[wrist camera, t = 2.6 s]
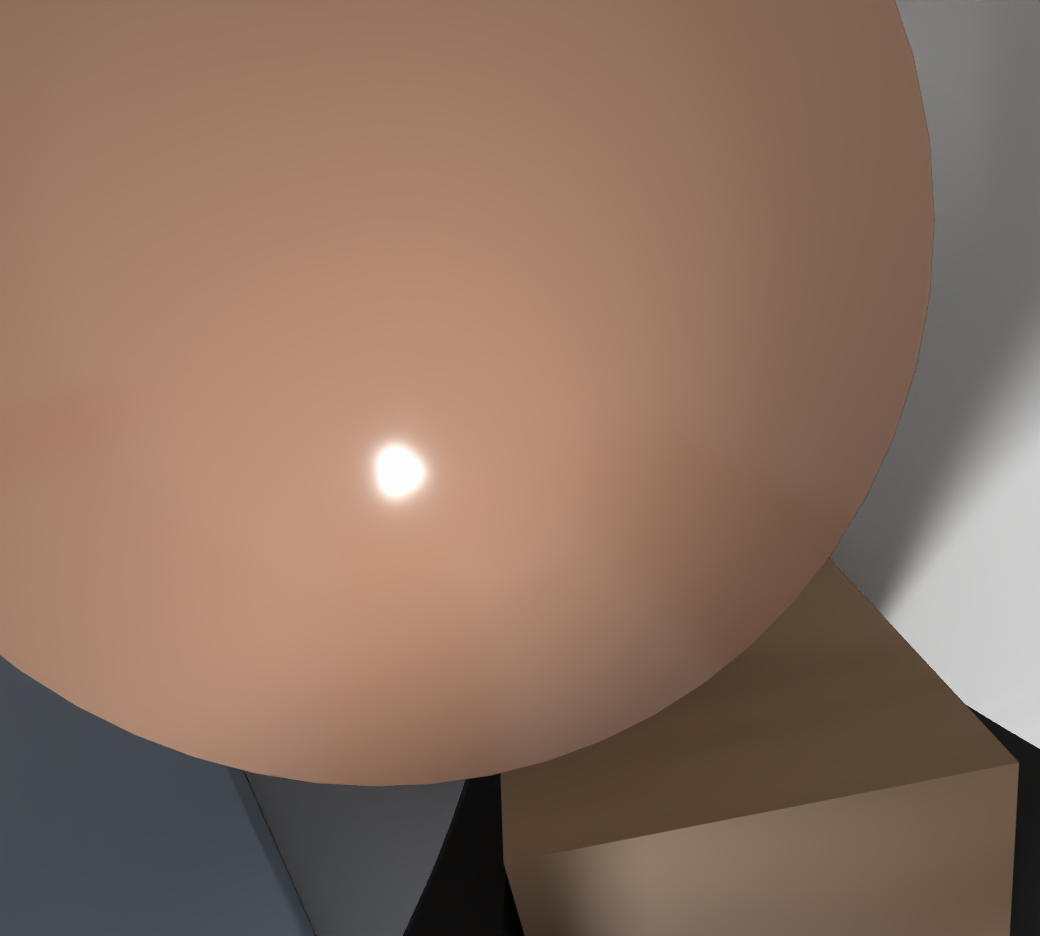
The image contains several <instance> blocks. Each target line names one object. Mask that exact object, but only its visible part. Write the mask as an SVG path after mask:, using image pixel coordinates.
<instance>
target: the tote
mask: <svg viewBox="0 0 1040 936" xmlns="http://www.w3.org/2000/svg"><path fill="white" fill-rule="evenodd" d="M0 936H315V933H314V931H313V929H312V926H311V924H310V922H309V920H308V917H307V915H306V913H305V910H304V908H303V906H302V904H301V901H300V899H299V897H298V895H297V892H296V890H295V888H294V885H293V883H292V881H291V879H290V876H289V874H288V872H287V869H286V867H285V865H284V863H283V860H282V858H281V856H280V853H279V851H278V849H277V847H276V844H275V842H274V840H273V838H272V835H271V833H270V831H269V828H268V826H267V824H266V822H265V819H264V817H263V815H262V812H261V810H260V808H259V806H258V803H257V801H256V799H255V796H254V794H253V792H252V790H251V787H250V785H249V783H248V781H247V778H246V776H245V774H244V771H243V770H241V769H237V768H233V767H229V766H226V765H222V764H218V763H214V762H211V761H207V760H203V759H199V758H196V757H193V756H190V755H187V754H185V753H182V752H179V751H177V750H174V749H171V748H169V747H166V746H163V745H161V744H158V743H155V742H153V741H150V740H147V739H145V738H142V737H139V736H137V735H134V734H132V733H130V732H128V731H126V730H124V729H122V728H120V727H118V726H116V725H114V724H112V723H110V722H108V721H106V720H104V719H102V718H100V717H98V716H96V715H94V714H92V713H90V712H88V711H86V710H84V709H82V708H80V707H78V706H76V705H74V704H73V703H71V702H70V701H68V700H66V699H65V698H63V697H62V696H60V695H58V694H57V693H55V692H54V691H52V690H50V689H49V688H47V687H46V686H44V685H42V684H41V683H39V682H38V681H36V680H34V679H33V678H31V677H30V676H28V675H26V674H25V673H23V672H22V671H20V670H19V669H18V668H16V667H15V666H14V665H12V664H11V663H10V662H9V661H7V660H6V659H5V658H3V657H2V656H1V655H0Z"/></svg>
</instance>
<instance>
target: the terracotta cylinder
mask: <svg viewBox="0 0 1040 936" xmlns="http://www.w3.org/2000/svg"><path fill="white" fill-rule="evenodd" d="M934 221H935V217H934V201H933V186H932V170H931V154H930V139H929V134H928V128H927V123H926V118H925V113H924V108H923V103H922V97H921V92H920V87H919V82H918V77H917V72H916V66H915V61H914V56H913V53H912V50H911V47H910V44H909V41H908V38H907V35H906V32H905V29H904V26H903V23H902V20H901V17H900V14H899V11H898V8H897V5H896V2H895V0H0V655H1V656H2V657H3V658H5V659H6V660H7V661H9V662H10V663H11V664H12V665H14V666H15V667H16V668H18V669H19V670H20V671H22V672H23V673H25V674H26V675H28V676H30V677H31V678H33V679H34V680H36V681H38V682H39V683H41V684H42V685H44V686H46V687H47V688H49V689H50V690H52V691H54V692H55V693H57V694H58V695H60V696H62V697H63V698H65V699H66V700H68V701H70V702H71V703H73V704H74V705H76V706H78V707H80V708H82V709H84V710H86V711H88V712H90V713H92V714H94V715H96V716H98V717H100V718H102V719H104V720H106V721H108V722H110V723H112V724H114V725H116V726H118V727H120V728H122V729H124V730H126V731H128V732H130V733H132V734H134V735H137V736H139V737H142V738H145V739H147V740H150V741H153V742H155V743H158V744H161V745H163V746H166V747H169V748H171V749H174V750H177V751H179V752H182V753H185V754H187V755H190V756H193V757H196V758H199V759H203V760H207V761H211V762H214V763H218V764H222V765H226V766H229V767H233V768H237V769H241V770H245V771H248V772H252V773H257V774H263V775H269V776H275V777H282V778H288V779H294V780H300V781H306V782H313V783H326V784H343V785H360V786H394V785H418V784H435V783H442V782H449V781H456V780H463V779H470V778H477V777H483V776H490V775H494V774H498V773H502V772H506V771H510V770H514V769H518V768H522V767H526V766H530V765H534V764H538V763H542V762H546V761H549V760H552V759H554V758H557V757H560V756H562V755H565V754H568V753H571V752H573V751H576V750H579V749H581V748H584V747H587V746H590V745H592V744H595V743H598V742H600V741H603V740H605V739H607V738H609V737H611V736H613V735H615V734H617V733H619V732H621V731H623V730H625V729H627V728H629V727H631V726H633V725H635V724H637V723H639V722H641V721H643V720H645V719H647V718H649V717H651V716H653V715H655V714H657V713H658V712H660V711H661V710H663V709H664V708H666V707H667V706H669V705H671V704H672V703H674V702H675V701H677V700H678V699H680V698H682V697H683V696H685V695H686V694H688V693H689V692H691V691H692V690H694V689H696V688H697V687H699V686H700V685H702V684H703V683H705V682H706V681H707V680H709V679H710V678H711V677H712V676H713V675H715V674H716V673H717V672H718V671H720V670H721V669H722V668H723V667H725V666H726V665H727V664H728V663H730V662H731V661H732V660H733V659H734V658H736V657H737V656H738V655H739V654H741V653H742V652H743V651H744V650H746V649H747V648H748V647H749V646H751V645H752V644H753V643H754V642H755V641H756V640H757V639H758V638H759V636H760V635H761V634H762V633H763V632H764V631H765V630H766V629H767V628H768V627H769V626H770V625H771V624H772V623H773V622H774V621H775V620H776V619H777V618H778V617H779V616H780V615H781V614H782V613H783V612H784V611H785V610H786V609H787V608H788V607H789V606H790V605H791V604H792V603H793V602H794V601H795V600H796V598H797V597H798V596H799V594H800V593H801V592H802V591H803V589H804V588H805V587H806V586H807V584H808V583H809V582H810V580H811V579H812V578H813V577H814V575H815V574H816V573H817V571H818V570H819V569H820V568H821V566H822V565H823V564H824V563H825V561H826V560H827V559H828V557H829V556H830V555H831V554H832V552H833V551H834V549H835V547H836V546H837V544H838V543H839V541H840V539H841V538H842V536H843V534H844V533H845V531H846V529H847V528H848V526H849V525H850V523H851V521H852V520H853V518H854V516H855V515H856V513H857V511H858V510H859V508H860V506H861V505H862V503H863V502H864V500H865V498H866V497H867V495H868V492H869V490H870V488H871V486H872V484H873V481H874V479H875V477H876V475H877V473H878V471H879V468H880V466H881V464H882V462H883V460H884V457H885V455H886V453H887V451H888V449H889V446H890V444H891V442H892V440H893V438H894V436H895V433H896V430H897V426H898V423H899V420H900V417H901V414H902V411H903V408H904V405H905V401H906V398H907V395H908V392H909V389H910V386H911V383H912V379H913V376H914V373H915V370H916V366H917V361H918V356H919V350H920V345H921V340H922V334H923V329H924V324H925V319H926V313H927V308H928V303H929V297H930V285H931V269H932V253H933V237H934Z"/></svg>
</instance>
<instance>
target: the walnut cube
mask: <svg viewBox="0 0 1040 936" xmlns="http://www.w3.org/2000/svg"><path fill="white" fill-rule="evenodd" d="M1018 774H1019V762H1018V761H1017V760H1016V759H1015V758H1014V756H1013V755H1012V754H1011V753H1010V752H1009V751H1008V750H1007V749H1006V748H1005V747H1004V746H1003V745H1002V744H1001V742H1000V741H999V740H998V739H997V738H996V737H995V736H994V735H993V734H992V733H991V732H990V731H989V730H988V728H987V727H986V726H985V725H984V724H983V723H982V722H981V721H980V720H979V719H978V718H977V717H976V716H975V714H974V713H973V712H972V711H971V710H970V709H969V708H968V707H967V706H966V705H965V704H964V703H963V702H962V700H961V699H960V698H959V697H958V696H957V695H956V694H955V693H954V692H953V691H952V690H951V689H950V688H949V686H948V685H947V684H946V683H945V682H944V681H943V680H942V679H941V678H940V677H939V676H938V675H937V674H936V672H935V671H934V670H933V669H932V668H931V667H930V666H929V665H928V664H927V663H926V662H925V661H924V660H923V658H922V657H921V656H920V655H919V654H918V653H917V652H916V651H915V650H914V649H913V648H912V647H911V646H910V644H909V643H908V642H907V641H906V640H905V639H904V638H903V637H902V636H901V635H900V634H899V633H898V632H897V630H896V629H895V628H894V627H893V626H892V625H891V624H890V623H889V622H888V621H887V620H886V619H885V618H884V616H883V615H882V614H881V613H880V612H879V611H878V610H877V609H876V608H875V607H874V606H873V605H872V604H871V602H870V601H869V600H868V599H867V598H866V597H865V596H864V595H863V594H862V593H861V592H860V591H859V590H858V588H857V587H856V586H855V585H854V584H853V583H852V582H851V581H850V580H849V579H848V578H847V577H846V576H845V574H844V573H843V572H842V571H841V570H840V569H839V568H838V567H837V566H836V565H835V564H834V563H833V561H832V560H831V559H830V558H829V557H828V559H827V560H826V561H825V563H824V564H823V565H822V566H821V568H820V569H819V570H818V571H817V573H816V574H815V575H814V577H813V578H812V579H811V580H810V582H809V583H808V584H807V586H806V587H805V588H804V589H803V591H802V592H801V593H800V594H799V596H798V597H797V598H796V600H795V601H794V602H793V603H792V604H791V605H790V606H789V607H788V608H787V609H786V610H785V611H784V612H783V613H782V614H781V615H780V616H779V617H778V618H777V619H776V620H775V621H774V622H773V623H772V624H771V625H770V626H769V627H768V628H767V629H766V630H765V631H764V632H763V633H762V634H761V635H760V636H759V638H758V639H757V640H756V641H755V642H754V643H753V644H752V645H751V646H749V647H748V648H747V649H746V650H744V651H743V652H742V653H741V654H739V655H738V656H737V657H736V658H734V659H733V660H732V661H731V662H730V663H728V664H727V665H726V666H725V667H723V668H722V669H721V670H720V671H718V672H717V673H716V674H715V675H713V676H712V677H711V678H710V679H709V680H707V681H706V682H705V683H703V684H702V685H700V686H699V687H697V688H696V689H694V690H692V691H691V692H689V693H688V694H686V695H685V696H683V697H682V698H680V699H678V700H677V701H675V702H674V703H672V704H671V705H669V706H667V707H666V708H664V709H663V710H661V711H660V712H658V713H657V714H655V715H653V716H651V717H649V718H647V719H645V720H643V721H641V722H639V723H637V724H635V725H633V726H631V727H629V728H627V729H625V730H623V731H621V732H619V733H617V734H615V735H613V736H611V737H609V738H607V739H605V740H603V741H600V742H598V743H595V744H592V745H590V746H587V747H584V748H581V749H579V750H576V751H573V752H571V753H568V754H565V755H562V756H560V757H557V758H554V759H552V760H549V761H546V762H542V763H538V764H534V765H530V766H526V767H522V768H518V769H514V770H510V771H506V772H502V773H501V801H502V830H503V858H504V866H505V870H506V873H507V877H508V880H509V883H510V887H511V890H512V894H513V897H514V901H515V904H516V907H517V911H518V914H519V918H520V921H521V925H522V928H523V932H524V935H525V936H1010V920H1011V902H1012V884H1013V865H1014V847H1015V829H1016V811H1017V792H1018Z"/></svg>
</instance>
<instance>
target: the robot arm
mask: <svg viewBox="0 0 1040 936" xmlns="http://www.w3.org/2000/svg"><path fill="white" fill-rule="evenodd" d="M966 706H967V705H966ZM967 707H968V708H969V709H970V710H971V711H972V712H973V713H974V714H975V716H976V717H977V718H978V719H979V720H980V721H981V722H982V723H983V724H984V725H985V726H986V727H987V728H988V730H989V731H990V732H991V733H992V734H993V735H994V736H995V737H996V738H997V739H998V740H999V741H1000V742H1001V744H1002V745H1003V746H1004V747H1005V748H1006V749H1007V750H1008V751H1009V752H1010V753H1011V754H1012V755H1013V756H1014V758H1015V759H1016V760H1017V761H1018V762H1019V774H1018V792H1017V811H1016V829H1015V847H1014V865H1013V884H1012V902H1011V920H1010V936H1040V749H1039V748H1037V747H1035V746H1034V745H1032V744H1030V743H1028V742H1027V741H1025V740H1023V739H1022V738H1020V737H1018V736H1017V735H1015V734H1013V733H1011V732H1010V731H1008V730H1006V729H1005V728H1003V727H1001V726H1000V725H998V724H996V723H995V722H993V721H991V720H990V719H988V718H986V717H985V716H983V715H982V714H980V713H978V712H977V711H975V710H973V709H972V708H970V707H969V706H967ZM403 936H525V935H524V932H523V928H522V925H521V921H520V918H519V914H518V911H517V907H516V904H515V901H514V897H513V894H512V890H511V887H510V883H509V880H508V877H507V873H506V870H505V866H504V858H503V830H502V801H501V773H498V774H494V775H490V776H483V777H477V778H470V779H466V780H465V783H464V786H463V790H462V793H461V796H460V799H459V802H458V804H457V807H456V810H455V813H454V816H453V819H452V822H451V824H450V827H449V829H448V832H447V835H446V837H445V840H444V842H443V845H442V848H441V850H440V853H439V855H438V858H437V860H436V863H435V865H434V868H433V870H432V873H431V875H430V877H429V879H428V882H427V884H426V886H425V888H424V891H423V893H422V895H421V897H420V899H419V902H418V904H417V906H416V908H415V910H414V913H413V915H412V917H411V919H410V921H409V924H408V926H407V928H406V930H405V932H404V934H403Z"/></svg>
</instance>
